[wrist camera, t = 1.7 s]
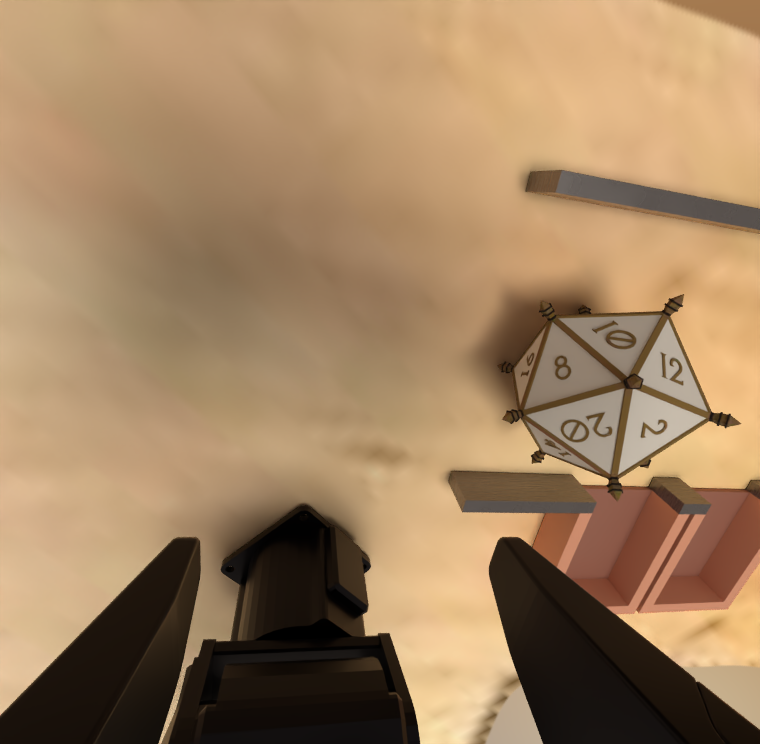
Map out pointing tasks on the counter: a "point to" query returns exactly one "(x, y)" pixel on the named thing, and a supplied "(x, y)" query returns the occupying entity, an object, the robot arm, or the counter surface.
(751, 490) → the lane rails
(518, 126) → the counter surface
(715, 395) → the counter surface
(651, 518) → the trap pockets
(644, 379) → the game die
